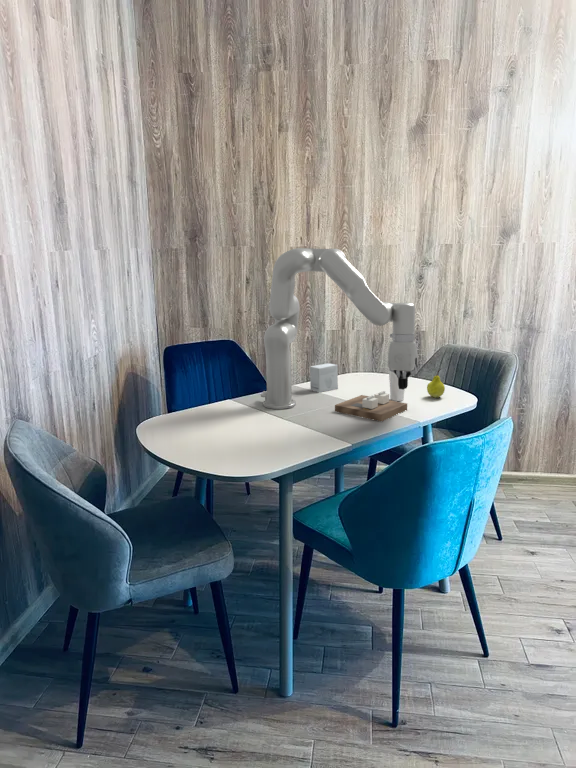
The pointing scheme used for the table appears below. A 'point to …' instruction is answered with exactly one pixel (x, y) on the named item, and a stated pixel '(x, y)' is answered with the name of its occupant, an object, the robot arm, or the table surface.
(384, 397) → the tab
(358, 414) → the switch board
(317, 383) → the skincare box
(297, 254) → the robot arm
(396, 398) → the drinking glass
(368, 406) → the front tab
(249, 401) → the table surface
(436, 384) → the fruit
